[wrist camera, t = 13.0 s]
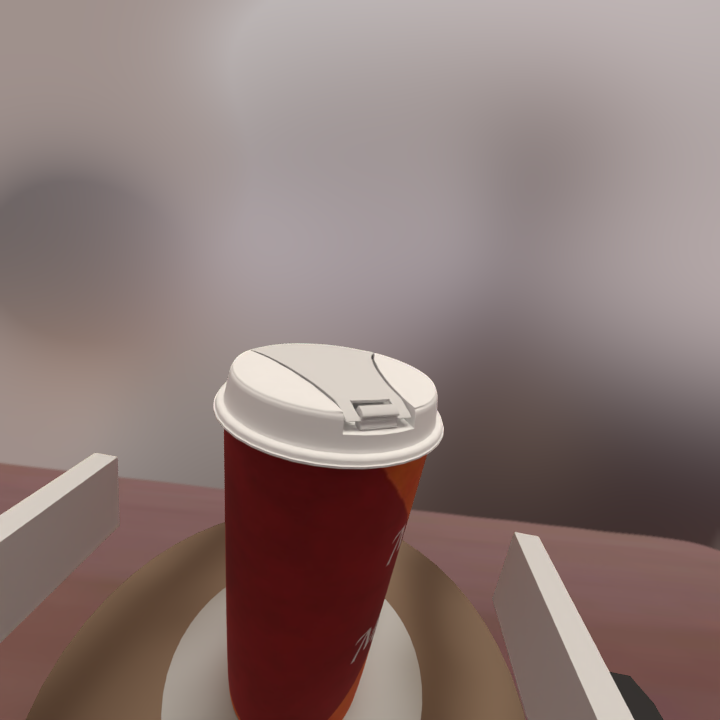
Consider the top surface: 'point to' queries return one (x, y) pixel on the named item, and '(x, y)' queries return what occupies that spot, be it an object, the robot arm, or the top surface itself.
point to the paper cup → (314, 517)
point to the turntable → (209, 649)
